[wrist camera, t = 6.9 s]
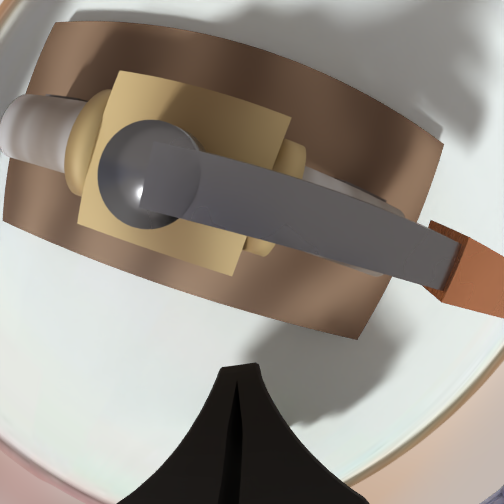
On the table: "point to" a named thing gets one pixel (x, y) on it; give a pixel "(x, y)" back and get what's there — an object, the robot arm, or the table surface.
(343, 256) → the valve lever
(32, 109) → the ball valve
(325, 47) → the table surface
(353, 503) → the robot arm
